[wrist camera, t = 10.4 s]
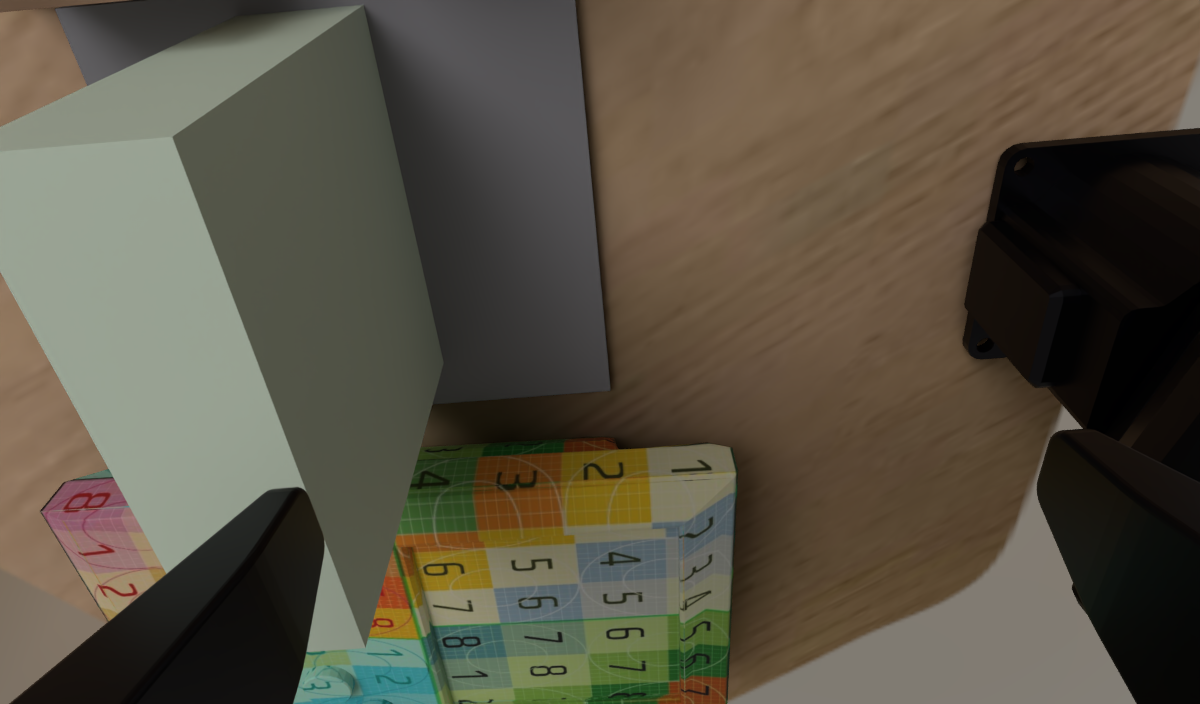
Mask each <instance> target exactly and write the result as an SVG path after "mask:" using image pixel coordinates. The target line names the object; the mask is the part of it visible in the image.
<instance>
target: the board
mask: <svg viewBox="0 0 1200 704" xmlns="http://www.w3.org/2000/svg"><path fill="white" fill-rule="evenodd" d="M0 272H1V274H2V276H3V278H4V279H5V281H6V283H7V285H8V287H9V288H10V290H11V292H12V294H13V296H14V298H15V299H16V301H17V303H18V305H19V307H20V308H21V310H22V312H23V314H24V316H25V318H26V319H27V321H28V323H29V325H30V327H31V328H32V330H33V332H34V334H35V336H36V338H37V339H38V341H39V343H40V345H41V347H42V348H43V350H44V352H45V354H46V356H47V358H48V359H49V361H50V363H51V365H52V367H53V368H54V370H55V372H56V374H57V376H58V378H59V379H60V381H61V383H62V385H63V387H64V388H65V390H66V392H67V394H68V396H69V398H70V399H71V401H72V403H73V405H74V407H75V408H76V410H77V412H78V414H79V416H80V418H81V419H82V421H83V423H84V425H85V427H86V428H87V430H88V432H89V434H90V436H91V438H92V439H93V441H94V443H95V445H96V447H97V448H98V450H99V452H100V454H101V456H102V458H103V459H104V461H105V463H106V465H107V467H108V468H109V470H110V472H111V474H112V476H113V478H114V479H115V481H116V483H117V485H118V487H119V488H120V490H121V492H122V494H123V496H124V498H125V499H126V501H127V503H128V505H129V507H130V508H131V510H132V512H133V514H134V516H135V518H136V519H137V521H138V523H139V525H140V527H141V528H142V530H143V532H144V534H145V536H146V538H147V539H148V541H149V543H150V545H151V547H152V548H153V550H154V552H155V554H156V556H157V558H158V559H159V561H160V563H161V565H162V567H163V568H164V570H165V572H166V574H167V573H168V572H169V571H170V570H172V569H173V568H174V567H175V566H176V565H178V564H179V563H180V562H181V561H182V560H184V559H185V558H186V557H187V556H188V555H190V554H191V553H192V552H193V551H194V550H196V549H197V548H198V547H199V546H200V545H202V544H203V543H204V542H205V541H207V540H208V539H209V538H210V537H211V536H213V535H214V534H215V533H216V532H217V531H219V530H220V529H221V528H222V527H223V526H225V525H226V524H227V523H228V522H229V521H231V520H232V519H233V518H234V517H236V516H237V515H238V514H239V513H240V512H242V511H243V510H244V509H245V508H246V507H248V506H249V505H250V504H251V503H252V502H254V501H255V500H256V499H257V498H258V497H260V496H261V495H262V494H263V493H265V492H266V491H268V490H271V489H277V488H290V487H300V488H302V489H304V490H305V491H306V492H307V494H308V496H309V498H310V501H311V503H312V506H313V509H314V511H315V514H316V516H317V519H318V522H319V524H320V527H321V530H322V532H323V536H324V543H325V551H324V558H323V564H322V569H321V575H320V580H319V586H318V592H317V597H316V603H315V608H314V614H313V619H312V625H311V630H310V636H309V642H308V647H307V652H314V651H329V650H344V649H359V648H366V644H367V641H368V637H369V634H370V630H371V626H372V623H373V619H374V615H375V612H376V608H377V604H378V601H379V597H380V593H381V590H382V586H383V583H384V579H385V575H386V572H387V568H388V564H389V561H390V557H391V553H392V550H393V546H394V542H395V539H396V535H397V531H398V528H399V524H400V521H401V517H402V513H403V510H404V506H405V502H406V499H407V495H408V491H409V488H410V484H411V480H412V477H413V473H414V470H415V466H416V462H417V459H418V455H419V451H420V448H421V444H422V440H423V437H424V433H425V429H426V426H427V422H428V418H429V415H430V411H431V408H432V404H433V400H434V397H435V393H436V389H437V386H438V382H439V378H440V375H441V371H442V367H443V364H444V362H443V358H442V353H441V349H440V344H439V340H438V335H437V331H436V326H435V322H434V318H433V313H432V309H431V304H430V300H429V295H428V291H427V286H426V282H425V277H424V273H423V268H422V264H421V260H420V255H419V251H418V246H417V242H416V237H415V233H414V228H413V224H412V219H411V215H410V210H409V206H408V202H407V197H406V193H405V188H404V184H403V179H402V175H401V170H400V166H399V161H398V157H397V152H396V148H395V143H394V139H393V135H392V130H391V126H390V121H389V117H388V112H387V108H386V103H385V99H384V94H383V90H382V85H381V81H380V77H379V72H378V68H377V63H376V59H375V54H374V50H373V45H372V41H371V36H370V32H369V27H368V23H367V19H366V14H365V10H364V5H356V6H344V7H333V8H322V9H311V10H300V11H288V12H277V13H266V14H255V15H243V16H235V17H233V18H231V19H229V20H227V21H225V22H223V23H221V24H218V25H216V26H214V27H212V28H210V29H208V30H206V31H204V32H201V33H199V34H197V35H195V36H193V37H191V38H189V39H187V40H184V41H182V42H180V43H178V44H176V45H174V46H172V47H170V48H167V49H165V50H163V51H161V52H159V53H157V54H155V55H153V56H150V57H148V58H146V59H144V60H142V61H140V62H138V63H136V64H133V65H131V66H129V67H127V68H125V69H123V70H121V71H119V72H116V73H114V74H112V75H110V76H108V77H106V78H104V79H101V80H99V81H97V82H95V83H93V84H91V85H89V86H87V87H84V88H82V89H80V90H78V91H76V92H74V93H72V94H70V95H67V96H65V97H63V98H61V99H59V100H57V101H55V102H53V103H50V104H48V105H46V106H44V107H42V108H40V109H38V110H36V111H33V112H31V113H29V114H27V115H25V116H23V117H21V118H19V119H16V120H14V121H12V122H10V123H8V124H6V125H4V126H2V127H0Z"/></svg>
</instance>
